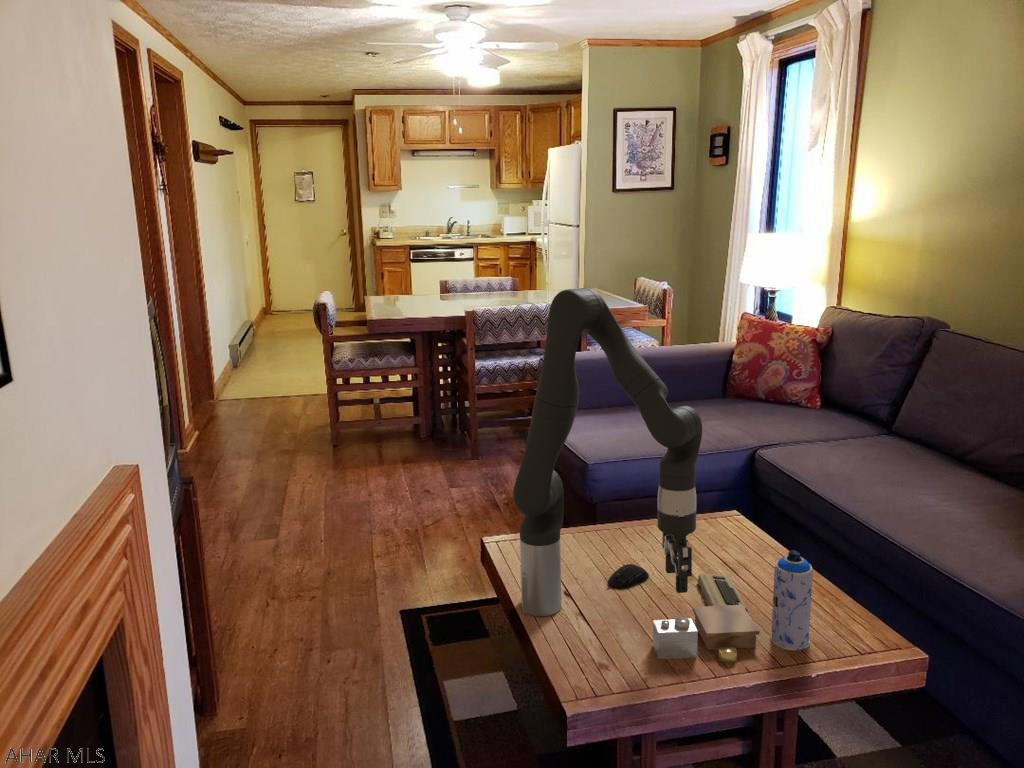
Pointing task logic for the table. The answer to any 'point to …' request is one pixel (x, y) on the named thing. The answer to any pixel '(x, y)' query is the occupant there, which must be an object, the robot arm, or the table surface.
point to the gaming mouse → (627, 577)
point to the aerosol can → (792, 602)
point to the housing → (675, 638)
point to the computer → (719, 590)
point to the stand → (725, 626)
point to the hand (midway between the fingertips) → (676, 582)
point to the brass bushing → (727, 654)
